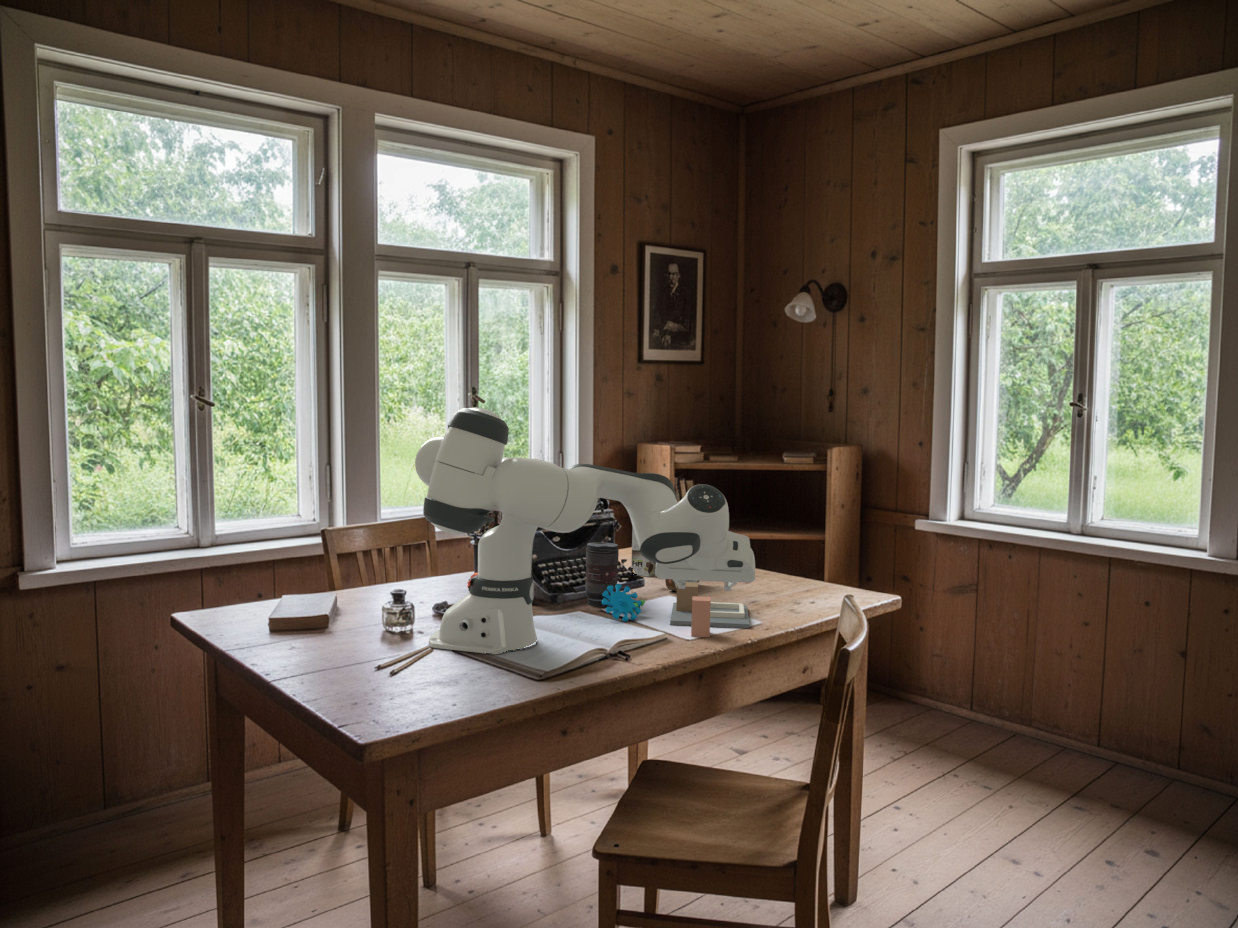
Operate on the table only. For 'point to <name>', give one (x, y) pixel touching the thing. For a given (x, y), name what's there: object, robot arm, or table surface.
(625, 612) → the gear
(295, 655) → the table surface
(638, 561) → the coffee box
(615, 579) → the camera lens
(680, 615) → the base plate
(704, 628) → the pillar block
